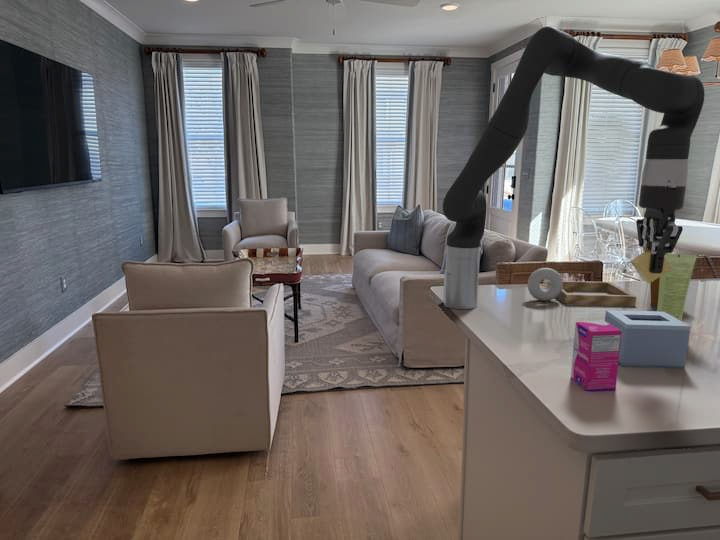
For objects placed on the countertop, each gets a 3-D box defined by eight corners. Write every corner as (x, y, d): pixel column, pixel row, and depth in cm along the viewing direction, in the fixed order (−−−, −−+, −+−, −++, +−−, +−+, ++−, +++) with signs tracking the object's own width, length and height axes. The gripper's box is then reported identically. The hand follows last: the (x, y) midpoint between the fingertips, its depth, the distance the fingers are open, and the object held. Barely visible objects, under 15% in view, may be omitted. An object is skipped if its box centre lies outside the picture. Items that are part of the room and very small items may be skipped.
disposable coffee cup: (646, 308, 144) (651, 266, 141) (642, 300, 152) (647, 261, 150) (685, 312, 140) (692, 269, 138) (679, 304, 149) (684, 263, 146)
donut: (559, 300, 152) (562, 267, 150) (562, 303, 149) (566, 269, 147) (525, 298, 153) (527, 266, 151) (527, 301, 150) (530, 268, 148)
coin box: (621, 367, 101) (626, 324, 99) (601, 350, 111) (605, 310, 109) (684, 370, 101) (690, 326, 99) (658, 351, 110) (663, 311, 109)
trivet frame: (565, 304, 147) (566, 294, 146) (546, 289, 165) (547, 280, 164) (635, 306, 146) (636, 296, 145) (608, 291, 164) (609, 281, 163)
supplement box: (568, 379, 96) (574, 320, 93) (599, 378, 96) (605, 320, 94) (584, 393, 90) (591, 330, 88) (616, 392, 90) (624, 330, 88)
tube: (664, 329, 125) (675, 251, 121) (685, 336, 121) (697, 254, 117) (649, 333, 123) (660, 252, 119) (670, 339, 118) (681, 256, 114)
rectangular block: (635, 263, 101) (658, 248, 100) (630, 261, 103) (652, 246, 102) (649, 283, 101) (672, 268, 101) (643, 280, 104) (665, 266, 103)
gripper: (627, 182, 106) (617, 264, 109) (661, 184, 92) (649, 278, 96) (664, 182, 105) (654, 265, 109) (704, 185, 92) (691, 279, 95)
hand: (652, 271), depth 102 cm, fingers closed on rectangular block, 2 cm apart
